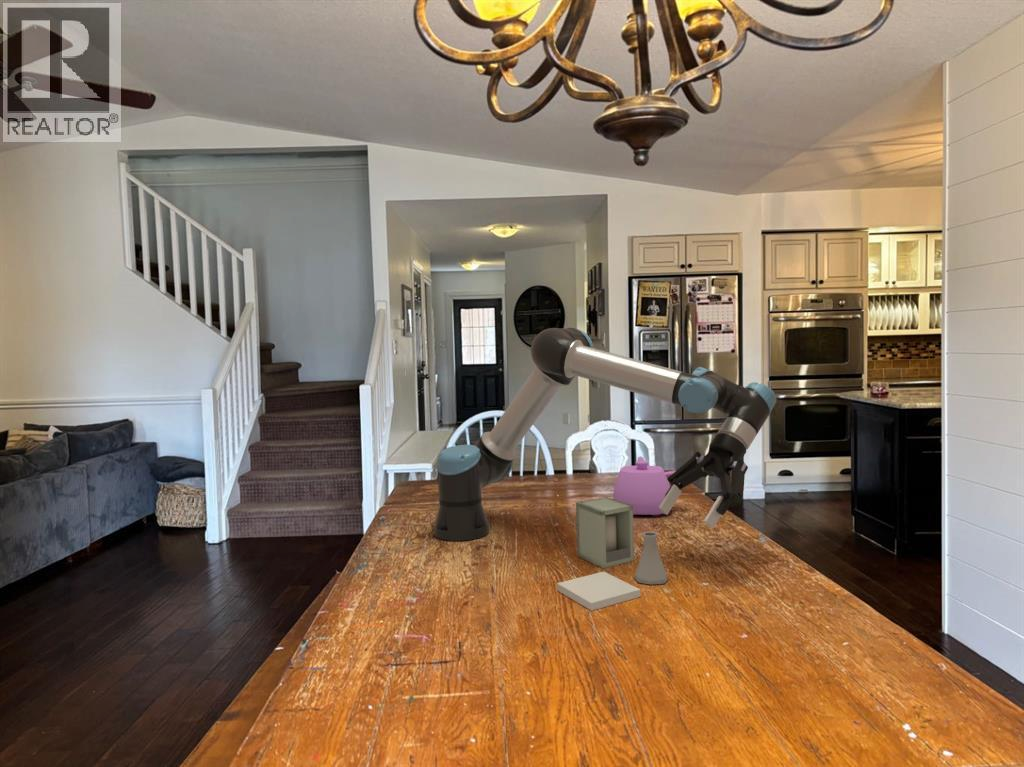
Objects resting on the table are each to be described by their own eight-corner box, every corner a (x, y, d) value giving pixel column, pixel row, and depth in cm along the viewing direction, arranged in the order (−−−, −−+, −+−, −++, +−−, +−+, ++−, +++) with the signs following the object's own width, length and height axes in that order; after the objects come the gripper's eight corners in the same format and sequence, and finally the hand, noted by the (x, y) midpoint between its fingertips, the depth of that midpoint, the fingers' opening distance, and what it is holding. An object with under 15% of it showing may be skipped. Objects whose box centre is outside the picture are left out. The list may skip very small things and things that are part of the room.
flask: (669, 586, 131) (668, 539, 130) (633, 585, 133) (632, 538, 132) (667, 573, 138) (666, 528, 138) (634, 572, 140) (633, 528, 139)
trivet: (557, 590, 131) (557, 583, 131) (603, 578, 137) (603, 571, 137) (591, 610, 121) (591, 603, 120) (640, 596, 126) (640, 589, 126)
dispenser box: (577, 556, 152) (575, 502, 151) (607, 549, 156) (606, 497, 155) (602, 568, 143) (601, 511, 142) (634, 560, 147) (632, 505, 146)
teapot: (688, 519, 179) (687, 466, 178) (612, 518, 183) (611, 466, 182) (681, 499, 201) (681, 452, 200) (614, 498, 205) (613, 452, 204)
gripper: (787, 459, 135) (739, 541, 129) (699, 445, 157) (655, 515, 150) (769, 437, 132) (720, 520, 126) (683, 426, 154) (637, 496, 147)
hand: (684, 517), depth 138 cm, fingers open, 13 cm apart
